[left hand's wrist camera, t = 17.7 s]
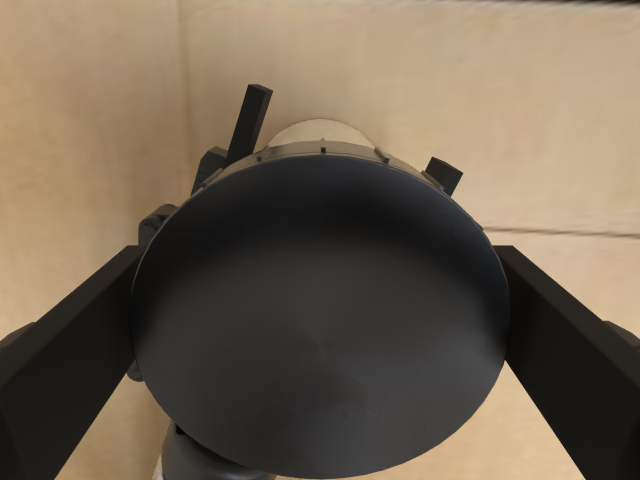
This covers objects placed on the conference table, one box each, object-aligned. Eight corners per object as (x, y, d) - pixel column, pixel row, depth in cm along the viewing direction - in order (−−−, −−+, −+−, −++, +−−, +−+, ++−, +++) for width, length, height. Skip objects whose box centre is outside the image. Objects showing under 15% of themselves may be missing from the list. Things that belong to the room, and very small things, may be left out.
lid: (477, 403, 14) (507, 464, 12) (204, 431, 14) (183, 495, 12) (481, 114, 10) (525, 122, 8) (118, 165, 11) (65, 186, 8)
